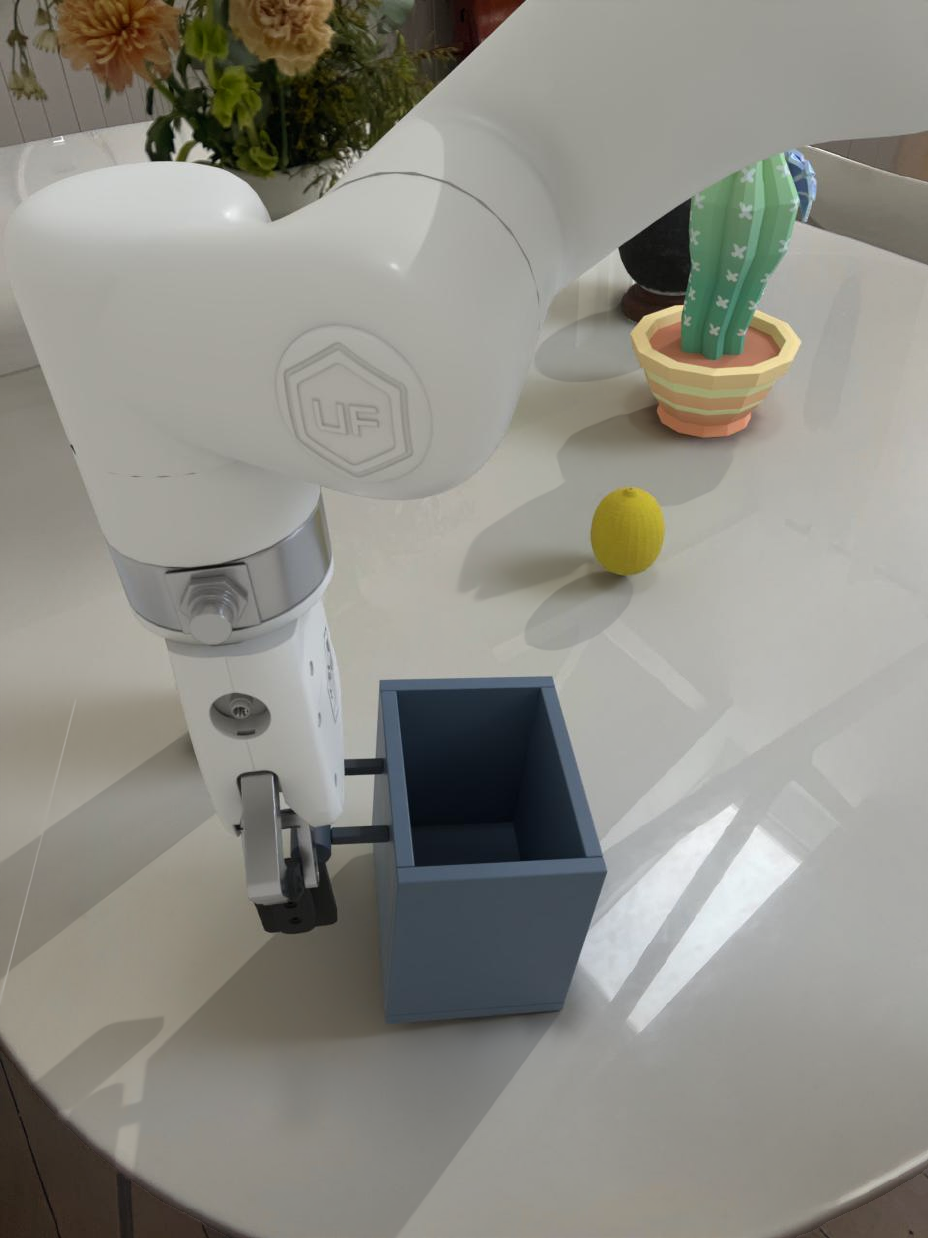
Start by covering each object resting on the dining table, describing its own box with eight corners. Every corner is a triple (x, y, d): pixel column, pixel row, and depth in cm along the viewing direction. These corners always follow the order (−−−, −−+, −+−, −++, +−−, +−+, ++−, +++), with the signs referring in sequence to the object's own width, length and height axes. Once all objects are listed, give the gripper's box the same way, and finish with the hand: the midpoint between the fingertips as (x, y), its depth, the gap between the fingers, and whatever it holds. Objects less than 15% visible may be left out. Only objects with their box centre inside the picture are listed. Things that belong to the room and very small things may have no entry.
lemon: (598, 547, 77) (604, 462, 72) (665, 560, 75) (676, 475, 70) (579, 588, 73) (584, 502, 68) (650, 603, 72) (660, 516, 66)
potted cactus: (789, 461, 86) (855, 167, 69) (617, 449, 88) (641, 163, 72) (781, 381, 97) (836, 112, 80) (629, 372, 99) (652, 110, 83)
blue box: (552, 675, 49) (290, 681, 47) (608, 871, 40) (288, 889, 38) (521, 819, 57) (295, 829, 55) (562, 1010, 48) (294, 1031, 46)
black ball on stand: (736, 329, 106) (758, 189, 96) (618, 332, 107) (628, 194, 97) (715, 283, 116) (733, 152, 106) (607, 286, 117) (615, 156, 107)
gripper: (334, 704, 28) (393, 991, 39) (324, 417, 41) (370, 695, 52) (74, 737, 27) (210, 1019, 38) (148, 436, 40) (233, 712, 51)
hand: (302, 832), depth 45 cm, fingers open, 9 cm apart
